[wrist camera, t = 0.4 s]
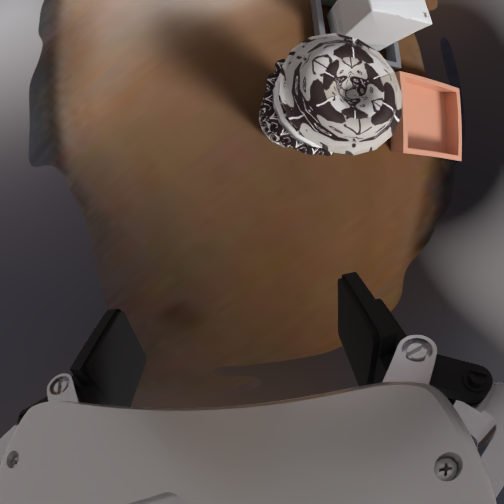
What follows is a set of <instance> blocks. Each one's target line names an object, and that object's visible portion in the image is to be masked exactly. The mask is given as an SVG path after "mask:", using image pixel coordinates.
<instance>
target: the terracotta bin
mask: <svg viewBox="0 0 504 504" xmlns="http://www.w3.org/2000/svg"><path fill="white" fill-rule="evenodd" d="M395 75H396V78H397V81H398V84H399V87H400V90H401V93H402V110H401V118H400V120H399V122H398V124H397V127H396V129H395V131H394V133H393V135H392V136H391V151H395V152H401V153H410V154H418V155H426V156H433V157H440V158H446V159H452V160H458V161H461V154H462V126H461V106H460V93H459V89H458V88H456V87H453V86H450V85H447V84H444V83H441V82H438V81H435V80H431V79H428V78H425V77H421V76H418V75H414V74H410V73H406V72H402V71H398V72H395Z"/></svg>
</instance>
